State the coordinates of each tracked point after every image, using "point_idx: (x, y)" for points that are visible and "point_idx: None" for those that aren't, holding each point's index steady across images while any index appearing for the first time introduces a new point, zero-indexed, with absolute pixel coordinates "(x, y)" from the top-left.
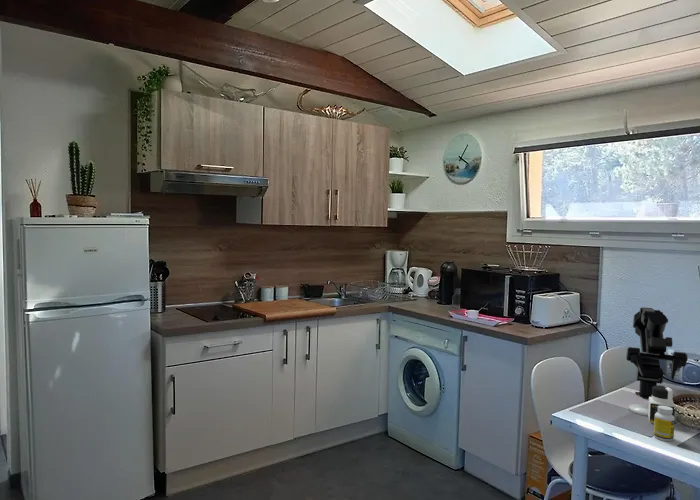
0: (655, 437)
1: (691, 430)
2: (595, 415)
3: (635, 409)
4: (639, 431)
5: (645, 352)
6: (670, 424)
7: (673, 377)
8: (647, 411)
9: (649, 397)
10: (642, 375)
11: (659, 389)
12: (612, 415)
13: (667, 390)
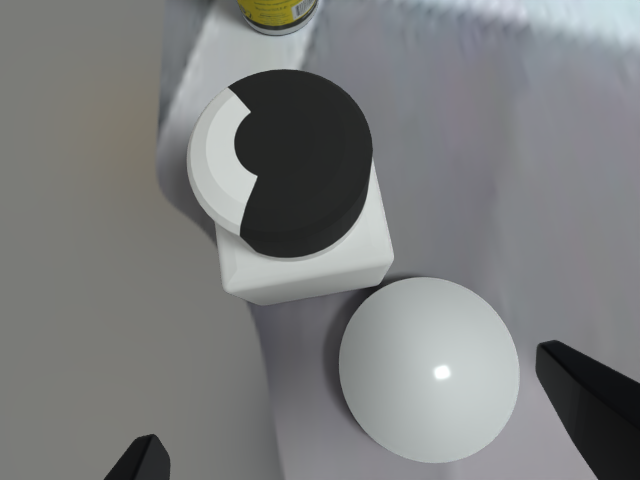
0: None
1: (165, 197)
2: (620, 93)
3: (461, 299)
4: (380, 15)
5: None
6: None
7: (131, 450)
8: (391, 308)
9: (388, 238)
10: (548, 348)
11: (297, 72)
12: (548, 157)
13: (228, 90)
